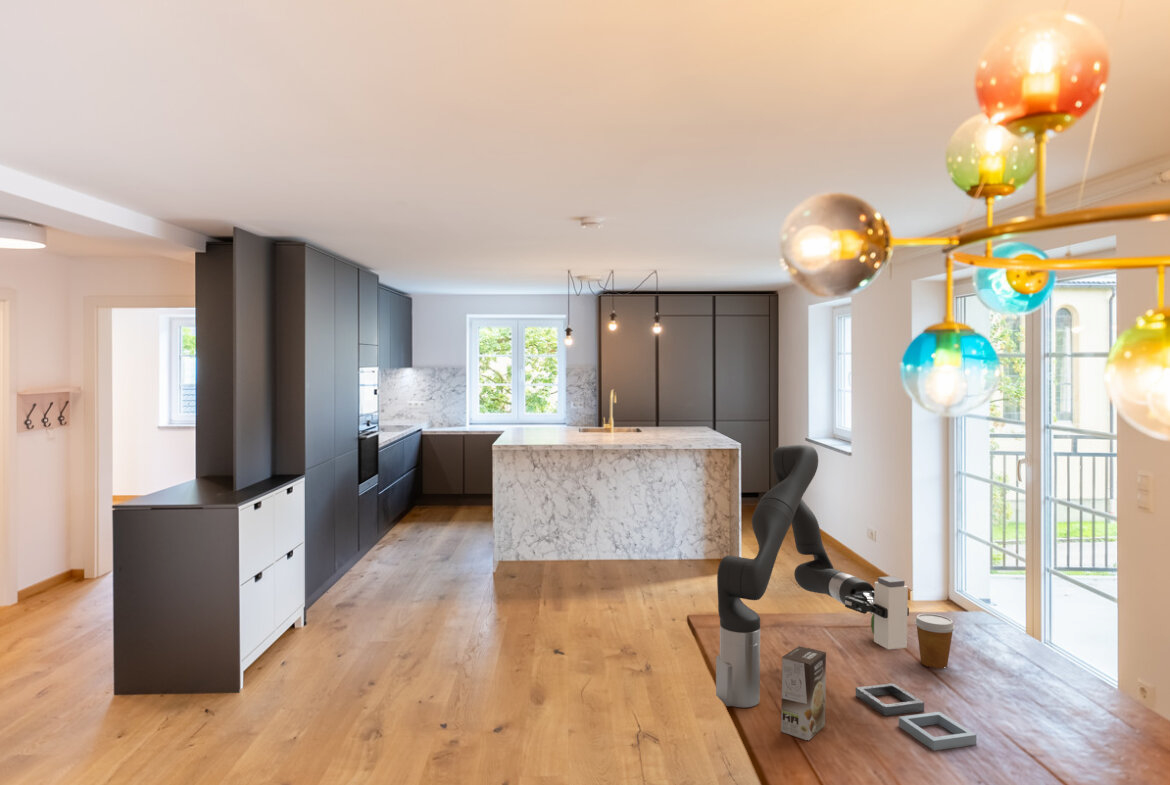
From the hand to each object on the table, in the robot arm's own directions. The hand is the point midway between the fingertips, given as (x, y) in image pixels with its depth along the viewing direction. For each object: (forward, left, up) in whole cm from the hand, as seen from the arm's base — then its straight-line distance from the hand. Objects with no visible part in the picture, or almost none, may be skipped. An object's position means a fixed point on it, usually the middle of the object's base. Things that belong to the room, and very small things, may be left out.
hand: (896, 612), depth 159 cm
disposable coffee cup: (+27, +19, -22) cm, 40 cm away
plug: (0, +2, -8) cm, 8 cm away
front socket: (0, -13, -22) cm, 25 cm away
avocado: (+25, +36, -22) cm, 49 cm away
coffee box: (-26, -4, -22) cm, 34 cm away
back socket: (0, +2, -22) cm, 22 cm away
